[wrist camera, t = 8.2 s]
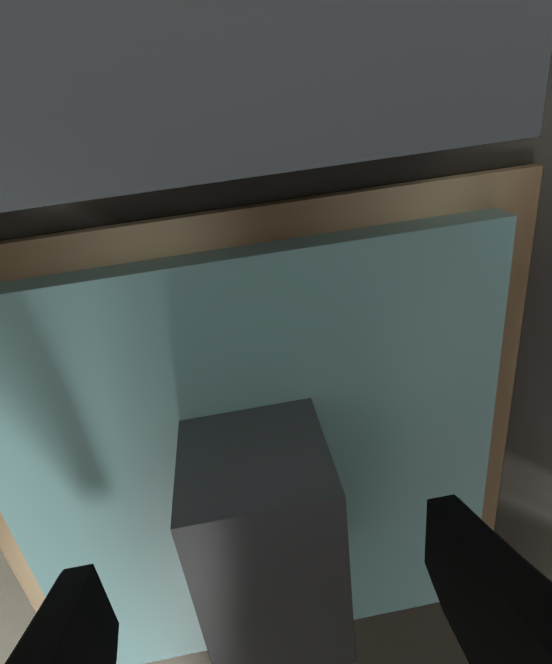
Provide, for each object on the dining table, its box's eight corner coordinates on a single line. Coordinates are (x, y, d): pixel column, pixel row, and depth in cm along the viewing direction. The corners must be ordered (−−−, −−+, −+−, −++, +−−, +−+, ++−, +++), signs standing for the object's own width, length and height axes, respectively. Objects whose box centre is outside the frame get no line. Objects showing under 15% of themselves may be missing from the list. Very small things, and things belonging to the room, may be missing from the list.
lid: (495, 207, 10) (638, 261, 7) (460, 572, 16) (530, 703, 12) (-83, 294, 9) (-243, 405, 6) (92, 647, 15) (59, 809, 11)
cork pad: (534, 163, 10) (543, 165, 10) (481, 583, 17) (485, 591, 16) (-146, 262, 9) (-157, 267, 9) (73, 667, 16) (71, 677, 15)
